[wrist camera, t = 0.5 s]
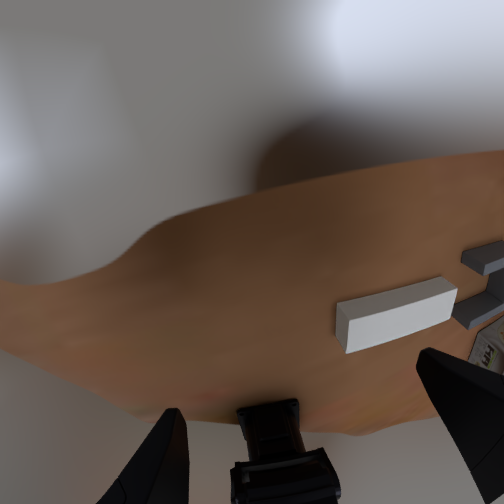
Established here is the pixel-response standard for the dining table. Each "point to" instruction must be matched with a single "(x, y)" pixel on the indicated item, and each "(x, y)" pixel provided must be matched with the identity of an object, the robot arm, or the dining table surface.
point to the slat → (393, 313)
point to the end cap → (498, 289)
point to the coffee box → (490, 348)
